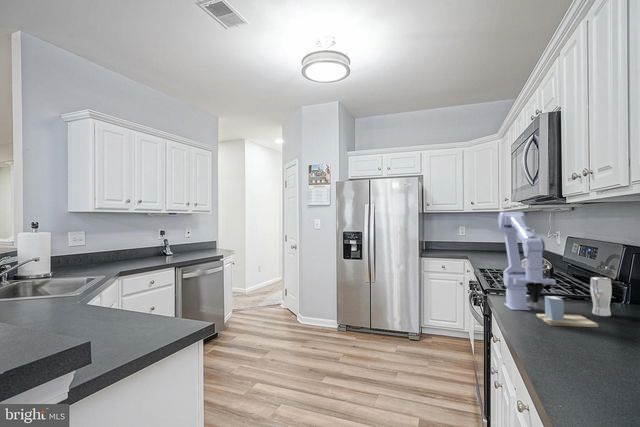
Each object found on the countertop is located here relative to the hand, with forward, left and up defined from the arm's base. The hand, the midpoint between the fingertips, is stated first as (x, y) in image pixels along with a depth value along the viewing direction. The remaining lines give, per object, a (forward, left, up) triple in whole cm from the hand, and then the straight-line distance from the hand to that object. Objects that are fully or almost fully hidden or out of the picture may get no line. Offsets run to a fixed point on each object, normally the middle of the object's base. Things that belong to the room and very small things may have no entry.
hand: (534, 302), depth 133 cm
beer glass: (-12, +30, -7) cm, 33 cm away
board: (0, +11, -7) cm, 13 cm away
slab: (0, +7, -6) cm, 9 cm away
